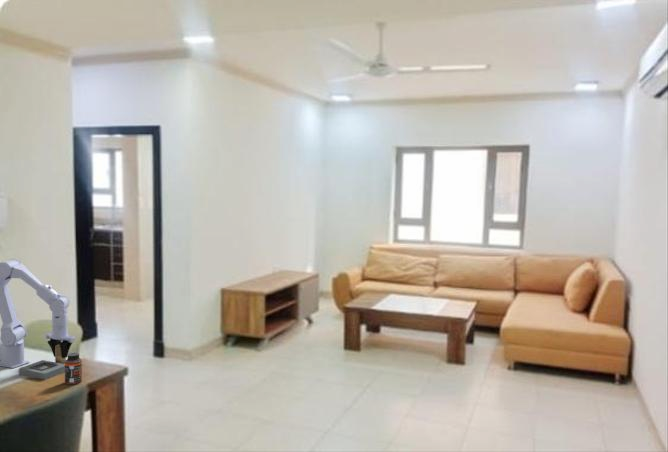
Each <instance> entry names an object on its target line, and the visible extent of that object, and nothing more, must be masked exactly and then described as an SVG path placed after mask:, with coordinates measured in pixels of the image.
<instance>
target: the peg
mask: <svg viewBox="0 0 668 452" xmlns="http://www.w3.org/2000/svg"><path fill="white" fill-rule="evenodd" d="M54 359H55V361H54V362H55V363H61V364H65V361H66V360H67V357H66V358H62V356H61V348H60V346H59V345H56V346H55V357H54Z"/></svg>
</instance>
